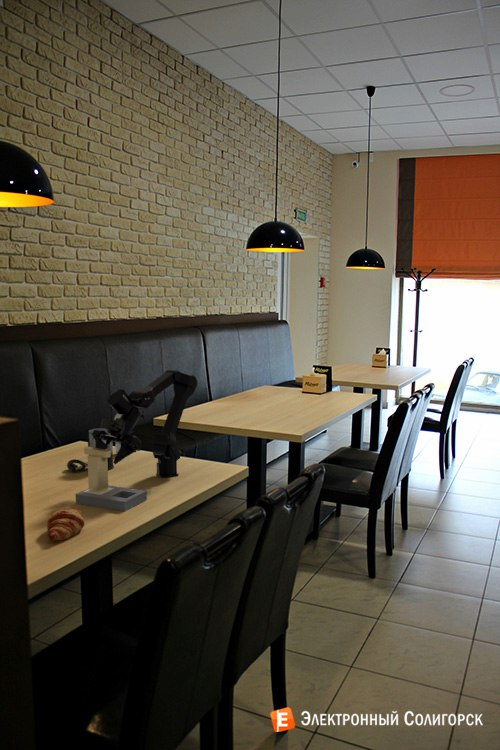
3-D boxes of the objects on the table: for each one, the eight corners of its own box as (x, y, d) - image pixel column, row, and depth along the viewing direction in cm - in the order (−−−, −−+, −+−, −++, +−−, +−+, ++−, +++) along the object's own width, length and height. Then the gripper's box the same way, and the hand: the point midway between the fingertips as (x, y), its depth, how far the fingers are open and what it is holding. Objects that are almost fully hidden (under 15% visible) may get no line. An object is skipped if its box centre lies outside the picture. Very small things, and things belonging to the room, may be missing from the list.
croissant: (69, 529, 194) (56, 506, 193) (98, 514, 193) (85, 491, 192) (43, 556, 173) (28, 530, 172) (75, 540, 172) (60, 514, 171)
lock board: (146, 499, 210) (146, 490, 210) (124, 511, 199) (124, 501, 199) (99, 492, 218) (99, 483, 217) (75, 503, 207) (75, 493, 207)
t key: (92, 485, 215) (91, 445, 213) (114, 490, 210) (113, 449, 208) (82, 488, 211) (81, 448, 210) (104, 494, 206) (103, 452, 204)
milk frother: (119, 467, 250) (118, 429, 248) (88, 477, 237) (87, 437, 235) (93, 462, 257) (92, 425, 255) (62, 471, 244) (60, 432, 242)
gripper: (94, 405, 219) (70, 444, 211) (135, 411, 208) (111, 452, 201) (112, 424, 226) (89, 462, 219) (152, 430, 216) (130, 470, 208)
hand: (104, 461), depth 211 cm, fingers open, 9 cm apart
